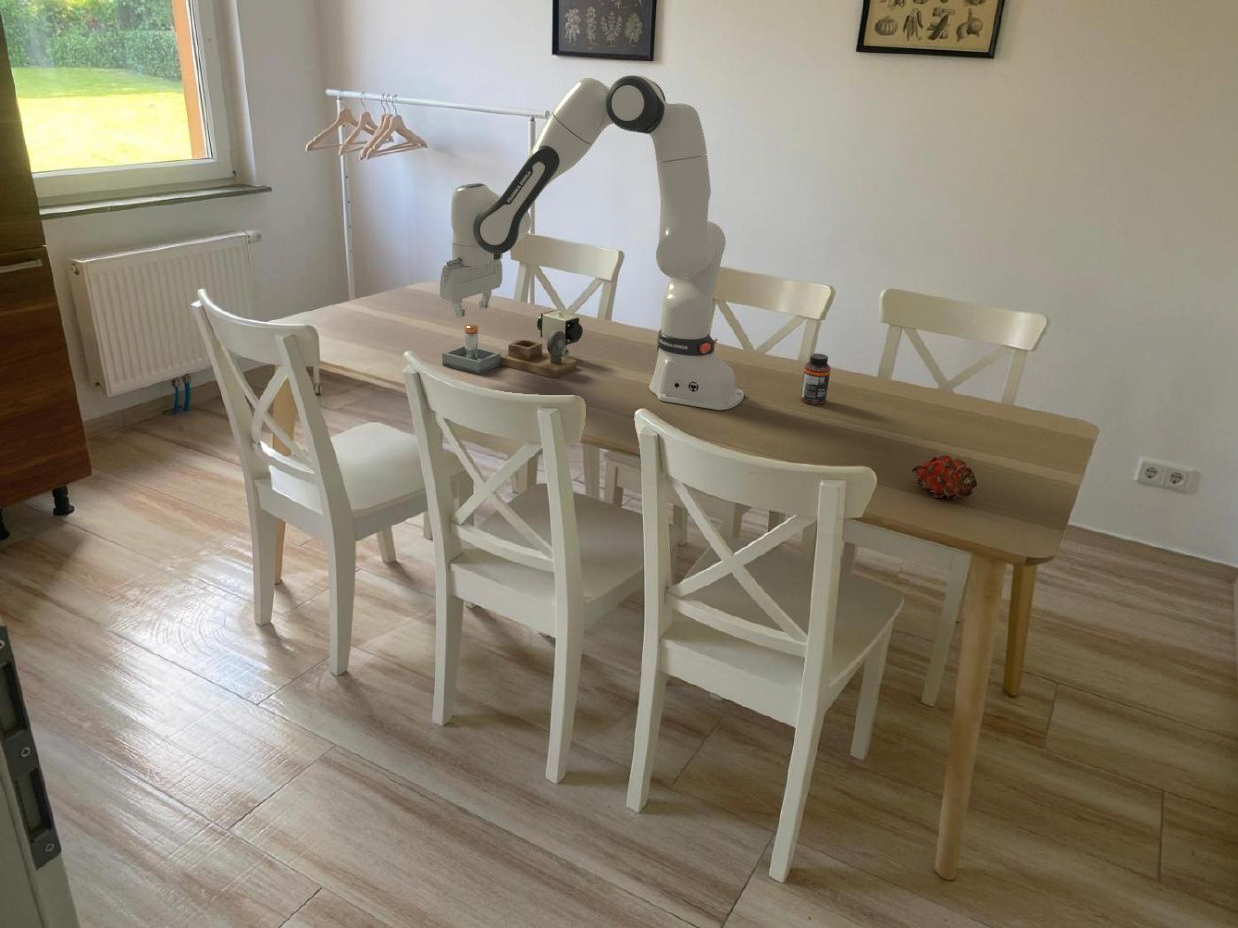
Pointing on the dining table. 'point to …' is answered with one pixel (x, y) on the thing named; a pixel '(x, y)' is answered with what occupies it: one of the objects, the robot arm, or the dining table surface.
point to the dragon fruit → (946, 477)
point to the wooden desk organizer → (540, 356)
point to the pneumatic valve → (560, 327)
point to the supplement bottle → (815, 380)
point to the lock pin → (471, 342)
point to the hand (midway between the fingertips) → (472, 312)
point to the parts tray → (471, 360)
